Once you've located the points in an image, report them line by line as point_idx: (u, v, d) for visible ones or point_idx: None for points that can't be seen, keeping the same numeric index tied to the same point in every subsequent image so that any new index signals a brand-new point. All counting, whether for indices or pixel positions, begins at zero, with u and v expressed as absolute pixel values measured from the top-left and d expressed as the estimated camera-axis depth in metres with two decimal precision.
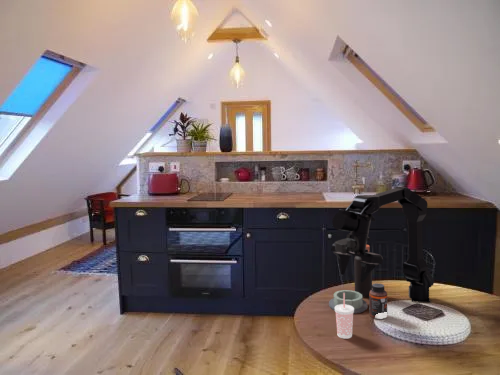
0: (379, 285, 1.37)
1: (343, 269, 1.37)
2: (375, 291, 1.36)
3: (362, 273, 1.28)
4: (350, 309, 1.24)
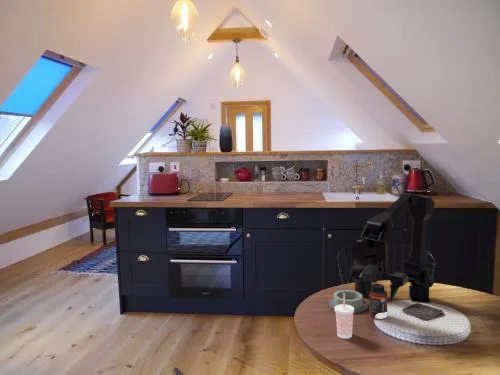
0: (379, 285, 1.37)
1: (366, 290, 1.40)
2: (375, 291, 1.36)
3: (392, 294, 1.33)
4: (350, 309, 1.24)
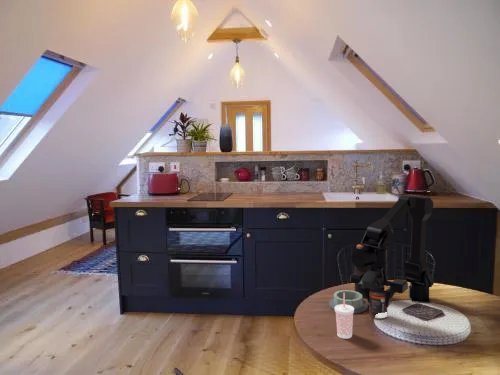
0: None
1: None
2: (375, 291, 1.36)
3: (387, 300, 1.34)
4: (350, 309, 1.24)
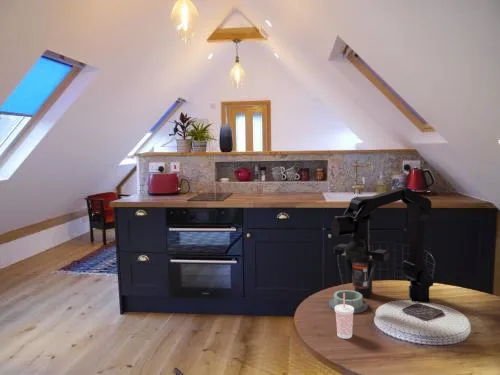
0: (361, 255, 1.41)
1: None
2: (357, 261, 1.40)
3: (369, 270, 1.38)
4: (350, 309, 1.24)
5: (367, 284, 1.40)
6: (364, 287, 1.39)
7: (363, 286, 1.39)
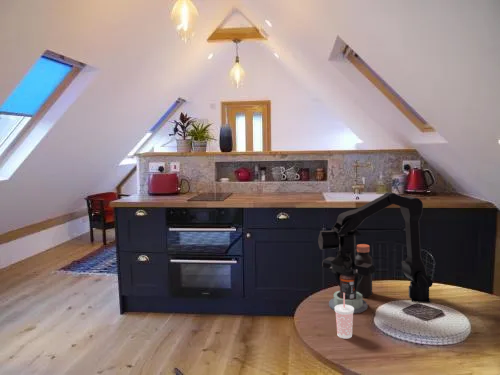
0: None
1: None
2: (344, 275, 1.45)
3: (356, 283, 1.44)
4: (350, 309, 1.24)
5: (354, 296, 1.45)
6: (351, 299, 1.45)
7: (350, 298, 1.45)
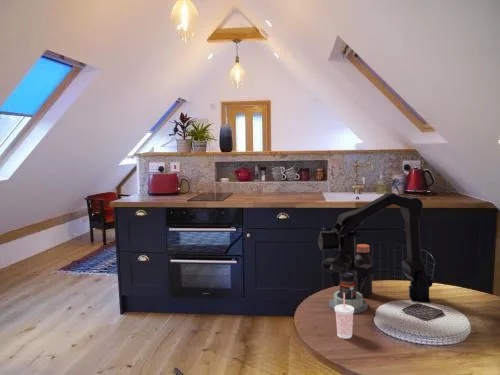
0: (348, 274, 1.47)
1: (337, 281, 1.50)
2: (344, 280, 1.46)
3: (359, 284, 1.43)
4: (350, 309, 1.24)
5: None
6: None
7: None
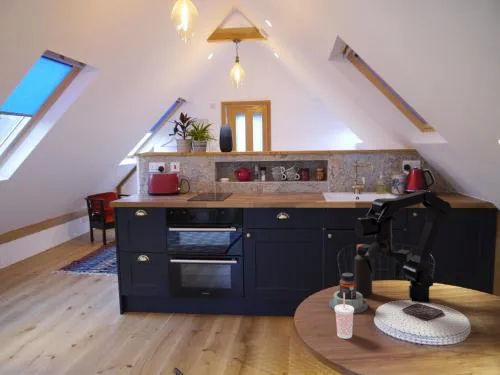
0: (348, 274, 1.47)
1: (372, 268, 1.48)
2: (344, 280, 1.46)
3: (397, 270, 1.40)
4: (350, 309, 1.24)
5: None
6: None
7: None
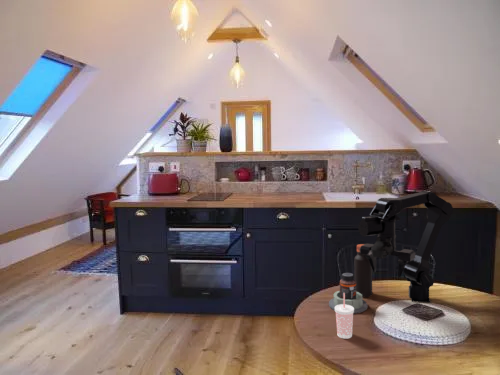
0: (348, 274, 1.47)
1: (375, 267, 1.48)
2: (344, 280, 1.46)
3: (400, 270, 1.40)
4: (350, 309, 1.24)
5: None
6: None
7: None
